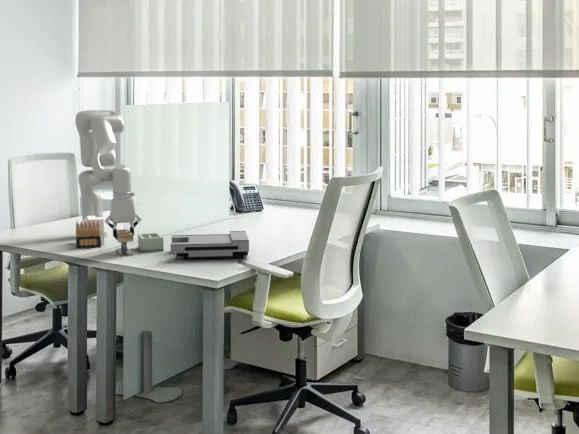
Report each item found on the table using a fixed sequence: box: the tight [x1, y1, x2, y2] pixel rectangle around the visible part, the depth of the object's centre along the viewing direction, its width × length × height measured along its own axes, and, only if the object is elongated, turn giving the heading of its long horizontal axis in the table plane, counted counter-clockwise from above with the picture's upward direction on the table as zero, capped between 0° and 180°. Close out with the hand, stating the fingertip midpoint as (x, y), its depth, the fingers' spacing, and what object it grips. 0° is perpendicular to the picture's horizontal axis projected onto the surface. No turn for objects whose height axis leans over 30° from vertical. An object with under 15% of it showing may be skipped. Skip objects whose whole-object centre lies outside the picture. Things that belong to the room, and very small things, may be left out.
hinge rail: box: [115, 242, 134, 257], centre depth 322 cm, size 13×5×5 cm, turn 22°
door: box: [116, 228, 134, 244], centre depth 321 cm, size 13×6×3 cm, turn 22°
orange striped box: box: [78, 216, 105, 246], centre depth 340 cm, size 11×11×12 cm
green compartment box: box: [137, 232, 164, 253], centre depth 329 cm, size 11×9×6 cm
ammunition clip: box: [75, 220, 102, 249], centre depth 332 cm, size 11×2×12 cm, turn 105°
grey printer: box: [170, 230, 250, 261], centre depth 319 cm, size 21×32×8 cm, turn 97°
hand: (123, 237), depth 322 cm, fingers closed on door, 6 cm apart
